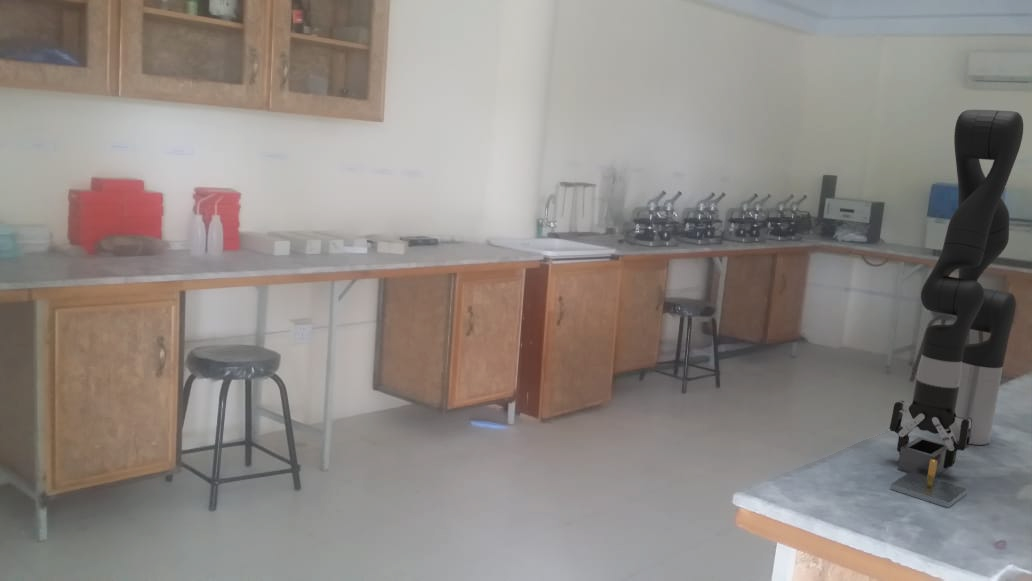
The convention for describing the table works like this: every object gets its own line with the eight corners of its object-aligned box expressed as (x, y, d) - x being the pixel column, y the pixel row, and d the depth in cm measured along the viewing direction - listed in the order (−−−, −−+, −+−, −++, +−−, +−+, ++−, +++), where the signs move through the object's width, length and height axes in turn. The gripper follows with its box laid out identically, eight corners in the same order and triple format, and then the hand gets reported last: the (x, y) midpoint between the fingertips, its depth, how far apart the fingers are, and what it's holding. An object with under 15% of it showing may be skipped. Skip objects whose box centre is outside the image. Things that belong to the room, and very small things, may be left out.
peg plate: (910, 476, 168) (915, 446, 167) (966, 494, 162) (972, 462, 161) (890, 489, 161) (895, 457, 160) (948, 507, 154) (954, 475, 153)
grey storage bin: (915, 458, 179) (919, 437, 178) (948, 467, 175) (951, 446, 174) (897, 469, 172) (901, 447, 171) (930, 479, 168) (934, 456, 167)
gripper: (984, 386, 168) (969, 468, 171) (907, 368, 178) (894, 446, 181) (971, 392, 163) (956, 477, 166) (893, 374, 172) (880, 454, 175)
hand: (924, 461), depth 173 cm, fingers open, 8 cm apart
